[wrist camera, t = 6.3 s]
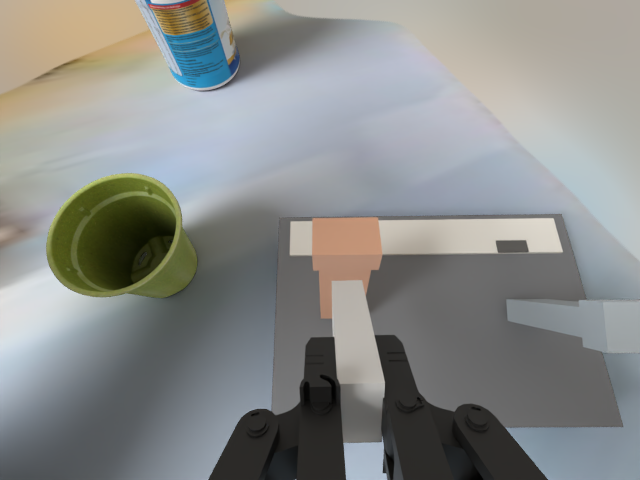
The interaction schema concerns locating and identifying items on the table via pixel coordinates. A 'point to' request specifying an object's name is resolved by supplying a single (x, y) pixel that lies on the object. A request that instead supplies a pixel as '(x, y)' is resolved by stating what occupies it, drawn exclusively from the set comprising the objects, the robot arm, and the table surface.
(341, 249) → the terracotta lever
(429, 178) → the table surface
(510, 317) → the slate lever
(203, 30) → the beverage bottle
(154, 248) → the plant pot
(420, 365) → the switch unit
